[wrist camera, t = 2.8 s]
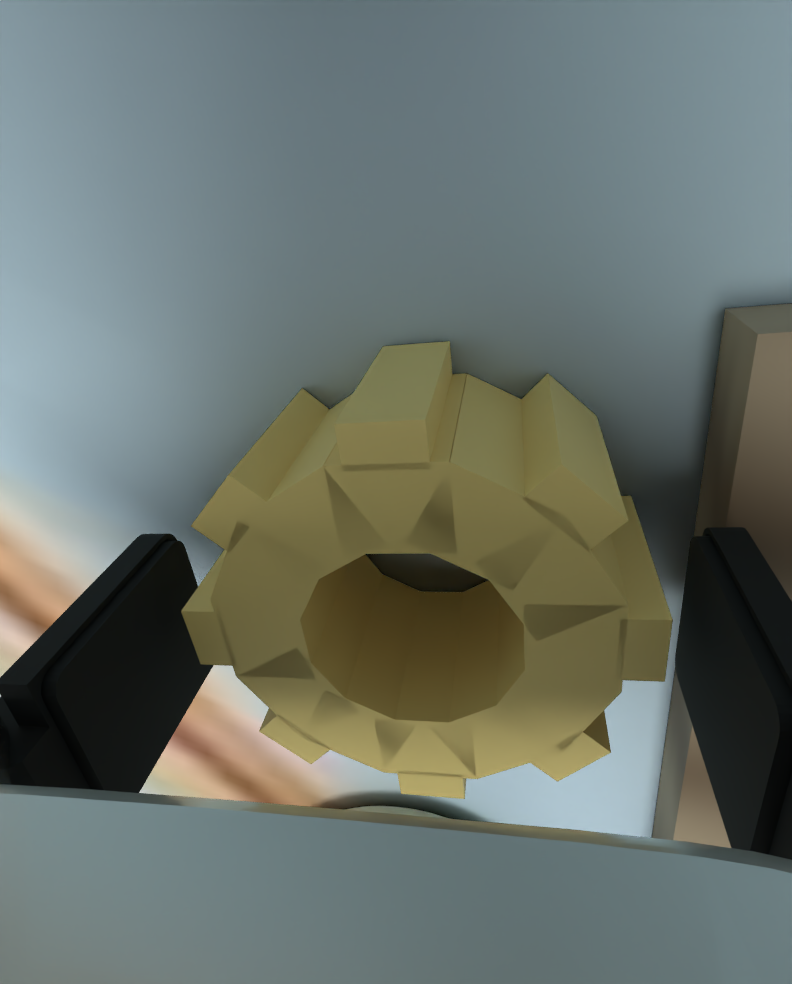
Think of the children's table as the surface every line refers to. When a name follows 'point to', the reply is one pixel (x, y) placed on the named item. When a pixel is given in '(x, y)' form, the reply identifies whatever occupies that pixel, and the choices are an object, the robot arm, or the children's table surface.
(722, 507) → the gear board
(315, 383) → the children's table surface
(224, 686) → the children's table surface
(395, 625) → the ochre gear
